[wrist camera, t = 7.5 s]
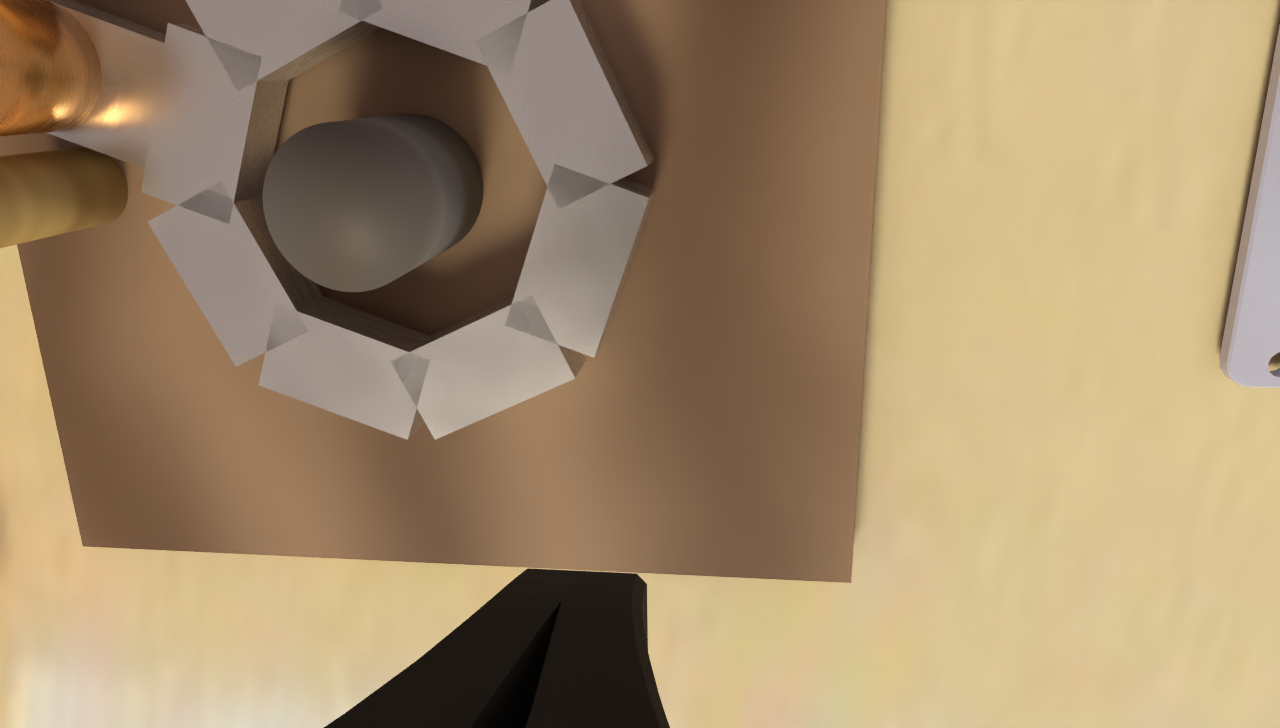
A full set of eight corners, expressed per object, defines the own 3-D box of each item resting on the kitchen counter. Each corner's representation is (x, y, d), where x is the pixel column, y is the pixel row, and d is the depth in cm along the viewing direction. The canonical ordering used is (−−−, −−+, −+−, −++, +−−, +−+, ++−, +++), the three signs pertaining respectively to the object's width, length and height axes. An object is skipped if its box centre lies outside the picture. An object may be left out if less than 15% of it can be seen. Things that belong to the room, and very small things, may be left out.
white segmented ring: (710, 31, 17) (697, 20, 13) (560, 467, 20) (513, 561, 16) (48, -208, 17) (-158, -290, 13) (-3, 261, 20) (-182, 305, 16)
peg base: (898, -324, 16) (959, -493, 11) (847, 559, 21) (873, 701, 16) (-53, -263, 18) (-342, -383, 13) (110, 526, 23) (-57, 644, 18)
